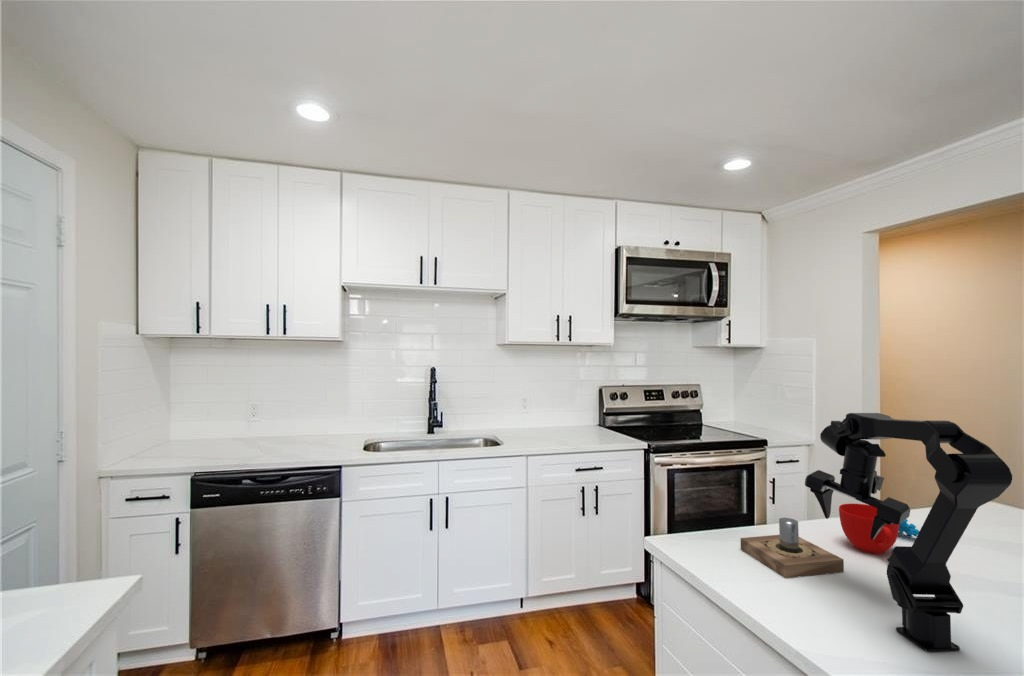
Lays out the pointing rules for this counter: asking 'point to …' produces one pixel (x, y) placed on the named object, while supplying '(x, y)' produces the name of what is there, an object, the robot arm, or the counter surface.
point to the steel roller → (789, 535)
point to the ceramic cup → (866, 528)
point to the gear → (908, 528)
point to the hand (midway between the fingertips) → (849, 528)
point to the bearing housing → (792, 557)
